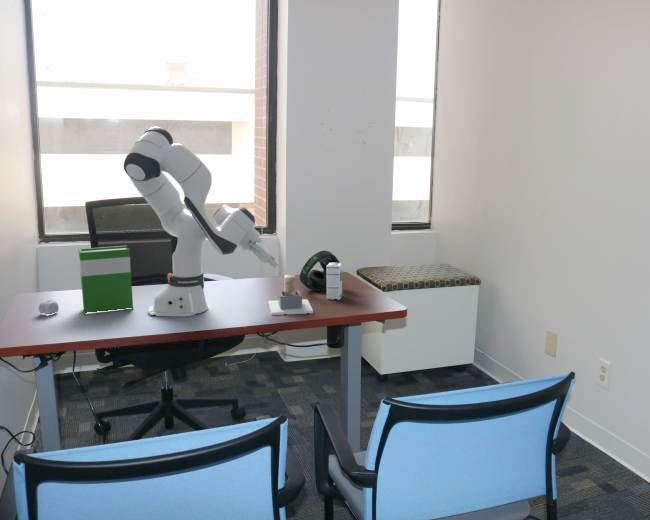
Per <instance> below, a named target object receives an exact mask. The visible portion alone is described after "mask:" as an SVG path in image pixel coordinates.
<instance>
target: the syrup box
mask: <svg viewBox="0 0 650 520" xmlns="http://www.w3.org/2000/svg"><path fill="white" fill-rule="evenodd" d="M326 284H327V287H326V300H334V299H337V300H341V299H342V297H343V263H342V262H340V263H329V264H328V265H327V266H326ZM337 300H336V301H337Z"/></svg>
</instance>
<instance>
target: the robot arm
mask: <svg viewBox="0 0 650 520" xmlns="http://www.w3.org/2000/svg"><path fill="white" fill-rule="evenodd" d="M209 169H210V168H208V167H207V166H206V164H205V163H204V162H203V161H202V160H201V159H200V158H199V157H198V156H197V155H196V154H195V153H193V151H191V150H190V149H189V148H188V147H186V146H184V145H183V144H182V143H179V142H176V143H174V139H173V137H172V134H171V133H170V132H169V131H168V130H166V129H165V128H163V127H160V126H152V127H150V128H148V129H147V130H146V131H145V132H144V133H143V134H142V135H141V136H140V138H138V139H137V141H136V142H135V144H134V146H132V149H131V150H130V152H129V153H128V154H127V155H126V157H125V159H124V162H123V170H124V172H125V174H127V176H128V177H129V179H130V180H131V182H132V184H133V185H134V187H135V189H136V190H137V192H138V193H139V194H140V195H141V196H142V197H143V199H144V200H145V201H146V203H148V205H149V206H150V207H151V208H152V210H153V211H154V212H155V214H156V215H157V217H158V219H159V220H160V222H161V223H160V224H161V227H162V229H163V230H164V231H165V232H166V233H167V234H169V235H170V236H173V237H176V238H177V243H176V247H175V250H174V252H173V253H172V256H171V259H172V273H171V272H169V273H168V274H167V276H166V277H167V285H165V286H164V287H163V288H161V289H160V291H158V292H157V293H156V295H155V297H154V300H153V304H151V305H150V306H149V307H148V311H147V313H148V312H149V314H151V315H156V316H155V317H187V316H188V317H192V316H194V315H196V314H197V313H198V314H200V313H204V312H206V311H207V310H208V309H209V306H208V304H207V301H206V296H205V291H204V290H205V289H204V288H205V276H204V273H203V250H204V245H205V241H206V239H208V241H209V243H210V244H211V246H212V248H213V249H214V250H215V251H216V252H217V253H219V254H221V255H230V254H233V253H234V252H235V250H236V249H237V248H238V246H239V247H240V248H241V249H242V250H243V251H247V250H248V251H249V252H252V253H253V254H254V255H255V257H257V258H258V259H259V260H260V261H261V262H262V263H264V264H267V263H268V264H269V265H270V266H271V267H272V268H277V267H278V263H277V262H276V259H275V257H273V255H272V254H271V253H270V251H269V249H268V247H267V245H266V244H265V243H264V241H262V239H261V238H260V235H261V233H260V232H259V231H258V230H257V229H256V228H255V225H256V219H255V215H254V214H252V212H250V210H248V209H247V208H246V207H243V206H240V207H236V208H232V207H231V206H230V205H228V204H226V203H225V204H222V205H221V206H220V207H219V208H217V210H216V211H215V213H214V214H213V216H212V220H213V221H214V223H215V224H216V225H217V226H218V227H216V225H215V224H214V223H213V221H212V220H211V218H210V216H209V215H208V214H207V213H206V208H205V207H206V206H205V203H206V200H207V197H208V196H209V195H208V194H209V193H210V190H211V188H212V187H211V186H212V183H213V182H212V180H213V179H212V173H211V171H210V170H209ZM164 172H165V173H167V174H169V175H170V176H171V177H172V178H173V180H174V181H176V182H177V184H178V185H179V186H180V187H181V189H182V191H183V195H184V197H183V202H184V204H183V202H182V200H181V198H180V192H179V191H178V190H177V189H176V187H175V185H174V184H173V183H172V181H170V179H169V177H167V175H165V173H164ZM185 206H186V207H185ZM149 314H148V315H149ZM151 315H150V316H151Z"/></svg>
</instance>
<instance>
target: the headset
mask: <svg viewBox="0 0 650 520" xmlns="http://www.w3.org/2000/svg"><path fill="white" fill-rule="evenodd" d="M318 263H319V264H320V267H321V268H322V269H323V270H322V271H321V270H317V269H313V268H314V267H315V266H316V265H317V264H318ZM329 263H341V262H340V261H339V259H338V258H337V257H336V255H335V254H334V253H332V252H331V251H329V250H321V251H318V252H316V253H315V254H313V255H312V256H310V258H309V259H308V260H307V261H306V262H305V263H304V265H303V267H302V269H301V271H300V273H299V280H300V282H301V284H303V285H304V286H305V287H306V288H307V289H308V290H313V291H315V292H324V291H325V290H327V284H326V266H327V265H328V264H329Z"/></svg>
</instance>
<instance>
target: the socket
mask: <svg viewBox="0 0 650 520" xmlns="http://www.w3.org/2000/svg"><path fill="white" fill-rule="evenodd" d="M277 296H278V297H277V299H278V300H277V299H276V300H267V305H268V307H269V312H270V315H271V316H280V315H281V316H282V315H284V314H287V315H301V314H302V315H303V314H304V315H306V314H307V313H309V314H314V310H313V308H312V306H311V304H310V302H309V299H308V298H306V299H305V298H303V295H302V293H301V290H299V289H297V290H296V295H292V296H284V290H278V292H277ZM307 315H308V314H307Z"/></svg>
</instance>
